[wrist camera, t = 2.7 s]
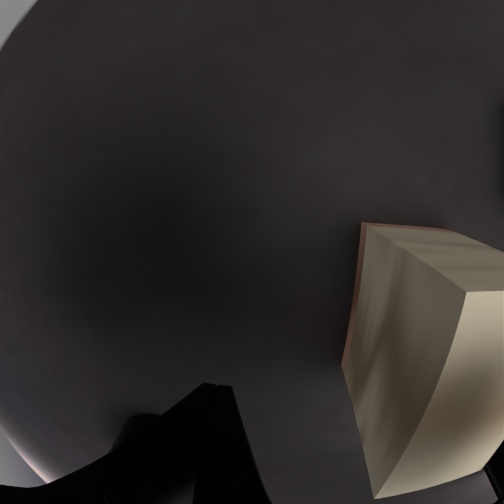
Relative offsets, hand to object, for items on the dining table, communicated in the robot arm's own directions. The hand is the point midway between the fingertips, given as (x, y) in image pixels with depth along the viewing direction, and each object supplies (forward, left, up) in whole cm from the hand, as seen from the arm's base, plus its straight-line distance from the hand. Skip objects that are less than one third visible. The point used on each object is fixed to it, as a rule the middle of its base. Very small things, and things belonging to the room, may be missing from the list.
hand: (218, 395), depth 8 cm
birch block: (0, -8, -7) cm, 11 cm away
